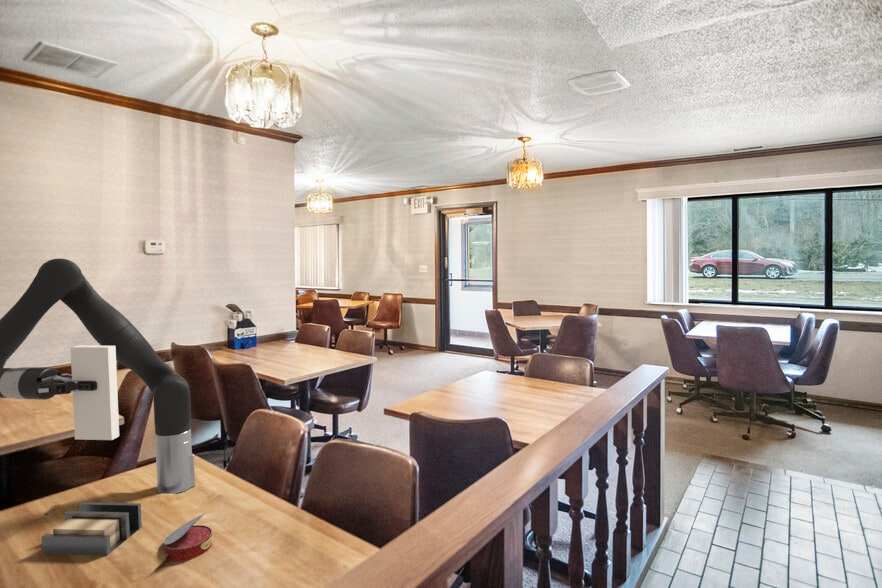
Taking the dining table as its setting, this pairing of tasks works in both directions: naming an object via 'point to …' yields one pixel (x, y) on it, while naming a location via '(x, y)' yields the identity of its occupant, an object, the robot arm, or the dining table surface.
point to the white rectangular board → (95, 392)
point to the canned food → (188, 541)
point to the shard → (52, 509)
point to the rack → (95, 543)
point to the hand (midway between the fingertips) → (100, 384)
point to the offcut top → (87, 527)
